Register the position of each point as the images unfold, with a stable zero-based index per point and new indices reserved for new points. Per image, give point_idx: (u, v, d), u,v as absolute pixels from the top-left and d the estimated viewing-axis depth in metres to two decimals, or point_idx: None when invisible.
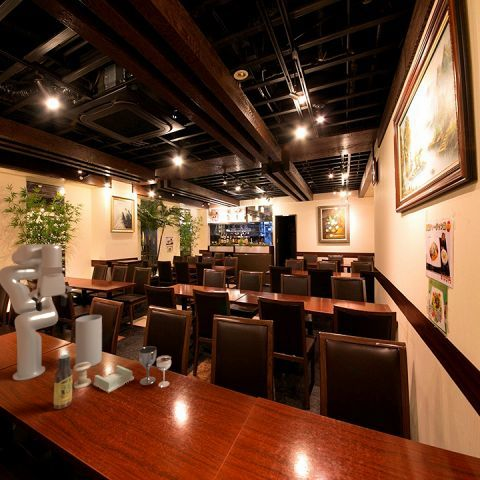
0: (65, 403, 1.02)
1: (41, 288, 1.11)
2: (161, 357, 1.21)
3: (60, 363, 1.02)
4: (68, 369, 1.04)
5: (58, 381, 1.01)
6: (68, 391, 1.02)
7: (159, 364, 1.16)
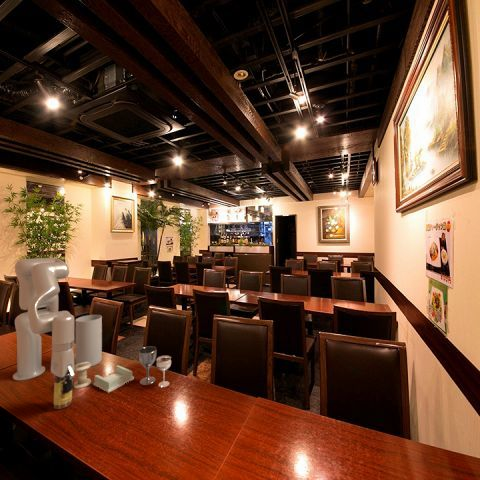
0: (65, 403, 1.02)
1: (73, 363, 1.03)
2: (161, 357, 1.21)
3: None
4: None
5: (58, 381, 1.01)
6: None
7: (159, 364, 1.16)
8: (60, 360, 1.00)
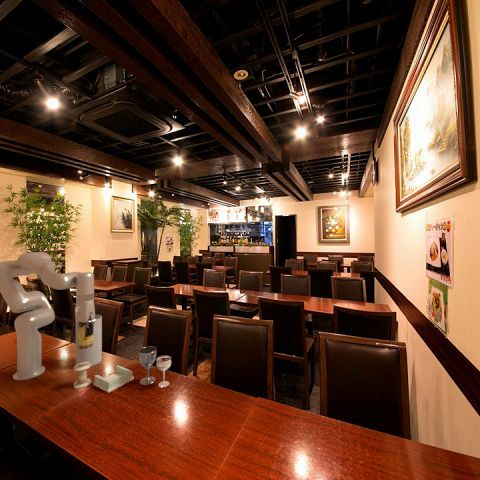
0: (88, 344, 1.22)
1: (94, 312, 1.23)
2: (161, 357, 1.21)
3: None
4: None
5: (82, 325, 1.21)
6: (90, 335, 1.23)
7: (159, 364, 1.16)
8: (83, 308, 1.20)
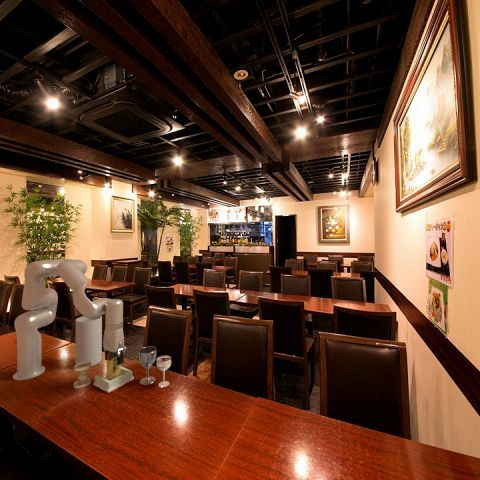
0: None
1: (123, 341, 1.20)
2: (161, 357, 1.21)
3: None
4: None
5: (111, 358, 1.18)
6: (118, 367, 1.19)
7: (159, 364, 1.16)
8: (113, 337, 1.17)
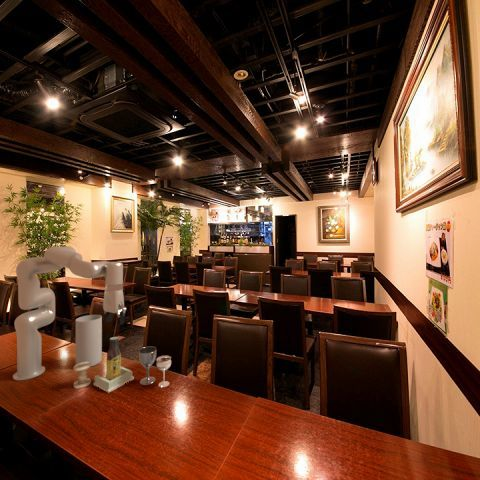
0: None
1: (123, 302, 1.20)
2: (161, 357, 1.21)
3: (111, 343, 1.19)
4: (118, 349, 1.21)
5: (110, 358, 1.18)
6: (118, 367, 1.19)
7: (159, 364, 1.16)
8: (113, 298, 1.17)
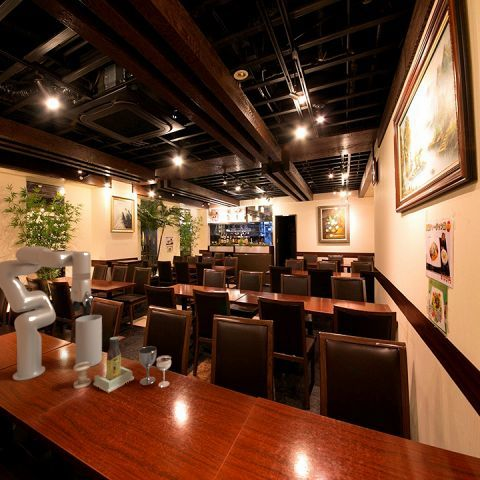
0: None
1: (90, 291, 1.20)
2: (161, 357, 1.21)
3: (111, 343, 1.19)
4: (118, 349, 1.21)
5: (111, 358, 1.18)
6: (118, 367, 1.19)
7: (159, 364, 1.16)
8: (79, 287, 1.17)
